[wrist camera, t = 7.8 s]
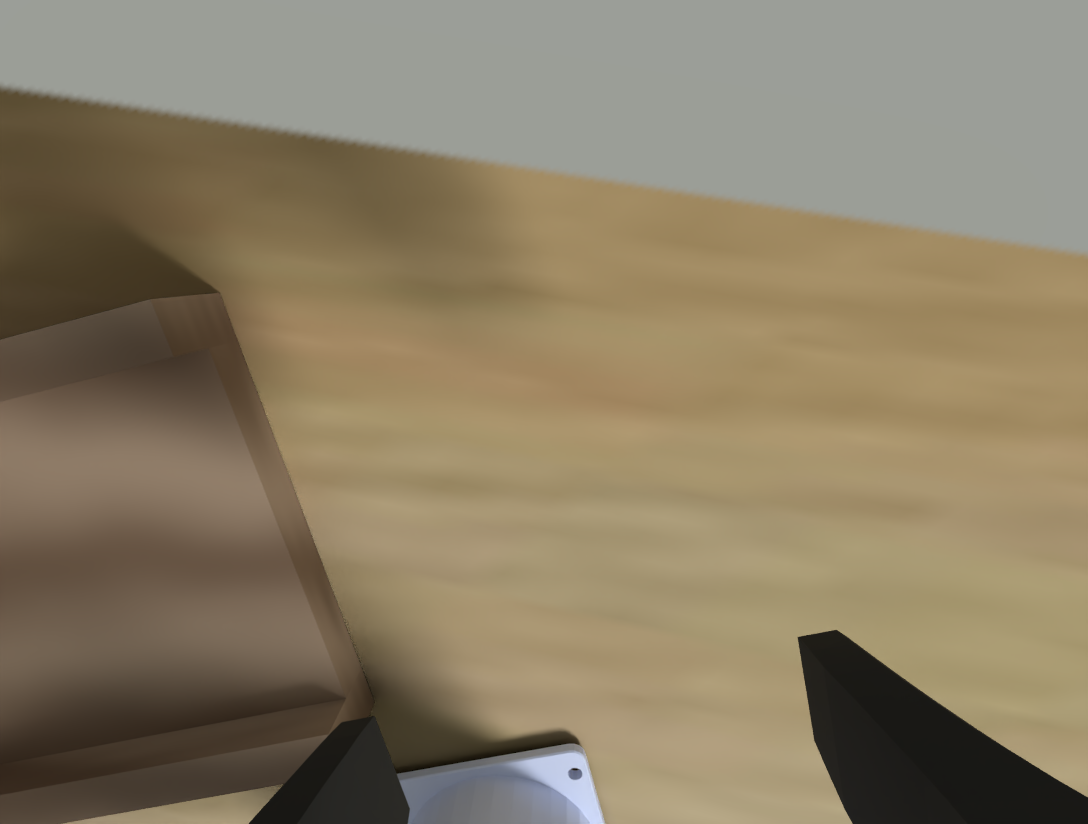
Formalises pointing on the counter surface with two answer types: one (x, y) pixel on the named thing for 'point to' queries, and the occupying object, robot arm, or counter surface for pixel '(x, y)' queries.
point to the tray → (154, 573)
